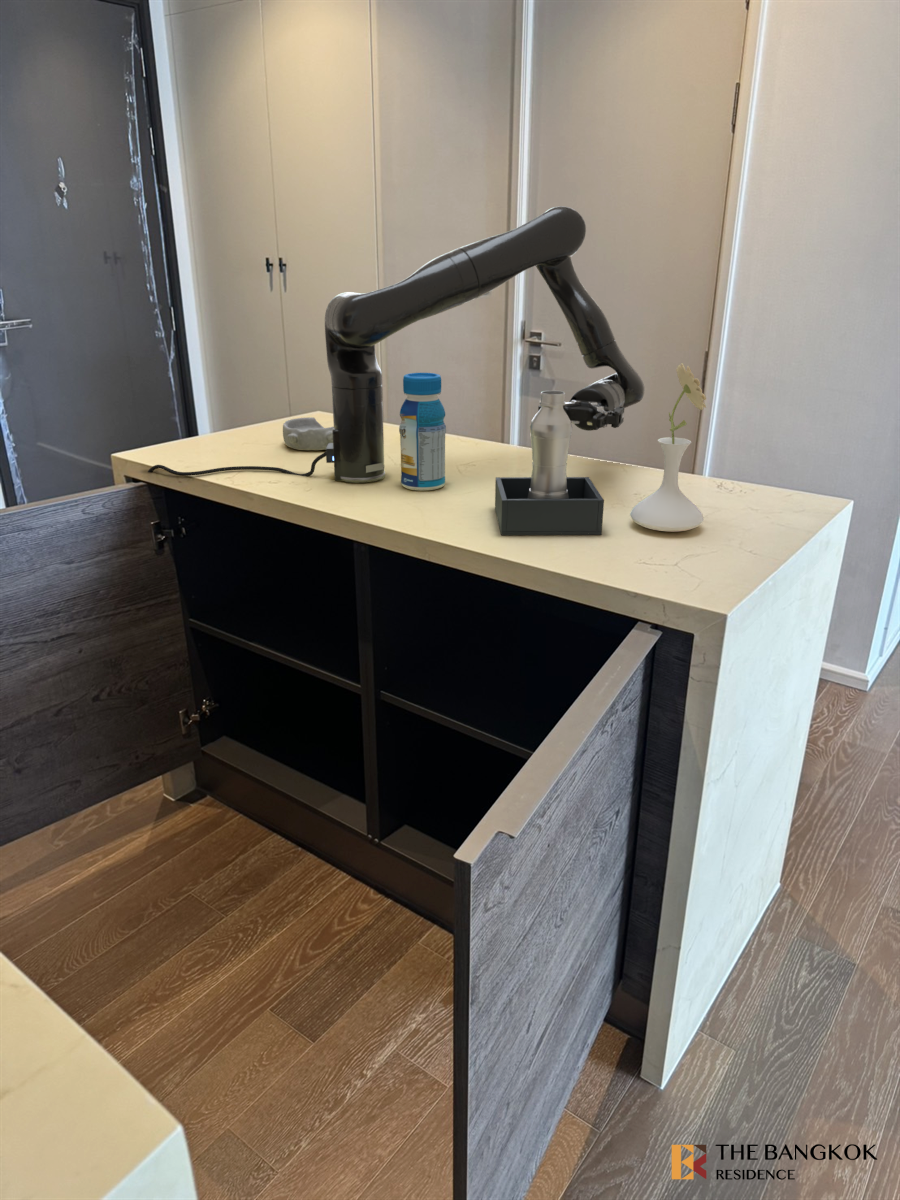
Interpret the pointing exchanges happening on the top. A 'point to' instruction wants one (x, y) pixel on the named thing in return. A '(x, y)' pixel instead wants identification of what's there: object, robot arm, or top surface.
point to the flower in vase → (672, 474)
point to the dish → (306, 434)
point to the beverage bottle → (422, 433)
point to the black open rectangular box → (548, 509)
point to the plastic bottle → (550, 448)
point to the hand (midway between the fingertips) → (569, 421)
